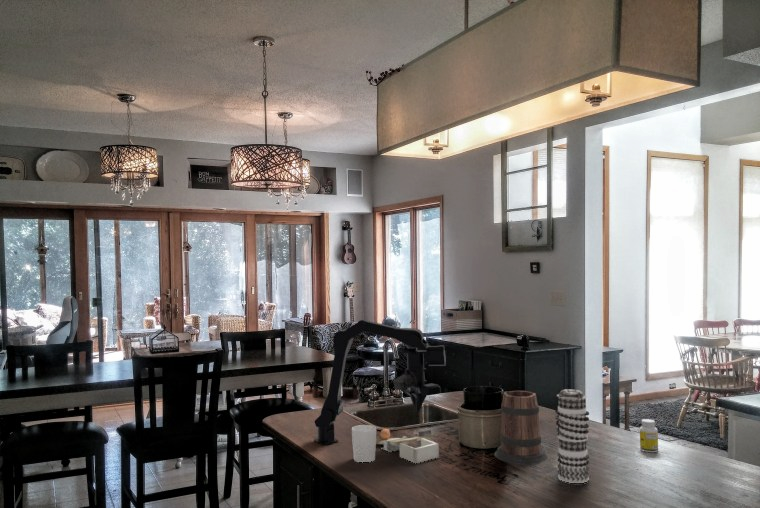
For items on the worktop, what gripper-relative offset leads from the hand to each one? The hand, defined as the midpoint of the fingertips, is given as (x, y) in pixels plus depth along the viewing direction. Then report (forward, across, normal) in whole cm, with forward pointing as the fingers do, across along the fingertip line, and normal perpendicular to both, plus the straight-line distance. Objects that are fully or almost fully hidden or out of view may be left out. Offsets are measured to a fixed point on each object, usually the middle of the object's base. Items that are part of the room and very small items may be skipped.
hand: (417, 411), depth 201 cm
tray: (+12, +10, -8) cm, 17 cm away
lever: (+10, -3, -3) cm, 11 cm away
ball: (+8, -9, -8) cm, 14 cm away
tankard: (+13, +26, +22) cm, 37 cm away
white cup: (+12, 0, -23) cm, 26 cm away
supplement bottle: (+14, +50, +56) cm, 77 cm away
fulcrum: (+11, -3, -8) cm, 14 cm away
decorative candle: (+13, +51, +15) cm, 55 cm away
